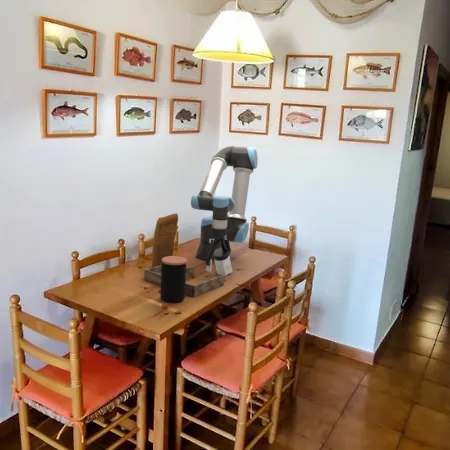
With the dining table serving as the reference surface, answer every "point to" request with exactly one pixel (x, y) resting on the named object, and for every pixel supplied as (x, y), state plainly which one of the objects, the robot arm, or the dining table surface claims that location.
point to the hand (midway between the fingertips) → (216, 268)
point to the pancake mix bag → (164, 238)
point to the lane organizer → (191, 290)
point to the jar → (222, 261)
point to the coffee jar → (173, 279)
